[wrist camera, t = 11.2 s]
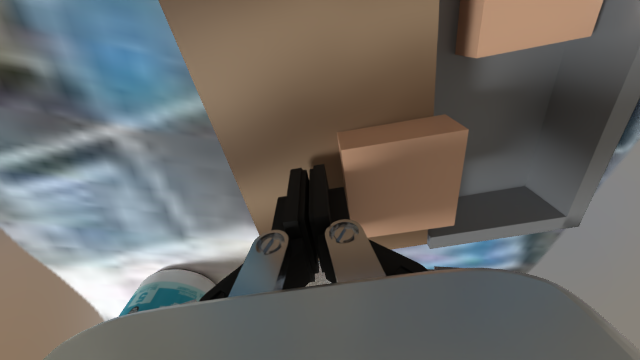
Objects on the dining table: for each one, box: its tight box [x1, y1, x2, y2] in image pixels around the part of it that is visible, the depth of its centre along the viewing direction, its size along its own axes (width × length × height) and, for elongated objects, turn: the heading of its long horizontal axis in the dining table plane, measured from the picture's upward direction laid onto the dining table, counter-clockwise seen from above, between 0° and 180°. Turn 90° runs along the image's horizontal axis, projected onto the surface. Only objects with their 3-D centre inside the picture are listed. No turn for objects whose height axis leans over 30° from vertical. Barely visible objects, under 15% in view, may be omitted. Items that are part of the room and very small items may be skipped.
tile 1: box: [337, 114, 469, 238], centre depth 12 cm, size 5×5×2 cm
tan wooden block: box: [159, 0, 440, 249], centre depth 13 cm, size 18×10×4 cm, turn 11°
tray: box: [427, 0, 640, 249], centre depth 12 cm, size 19×9×4 cm, turn 11°
